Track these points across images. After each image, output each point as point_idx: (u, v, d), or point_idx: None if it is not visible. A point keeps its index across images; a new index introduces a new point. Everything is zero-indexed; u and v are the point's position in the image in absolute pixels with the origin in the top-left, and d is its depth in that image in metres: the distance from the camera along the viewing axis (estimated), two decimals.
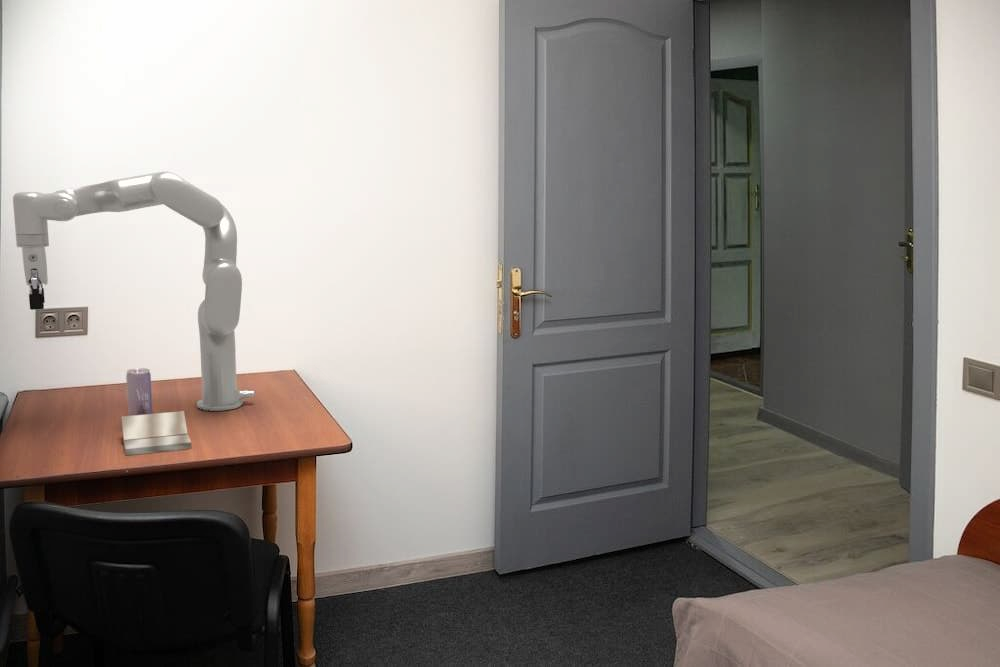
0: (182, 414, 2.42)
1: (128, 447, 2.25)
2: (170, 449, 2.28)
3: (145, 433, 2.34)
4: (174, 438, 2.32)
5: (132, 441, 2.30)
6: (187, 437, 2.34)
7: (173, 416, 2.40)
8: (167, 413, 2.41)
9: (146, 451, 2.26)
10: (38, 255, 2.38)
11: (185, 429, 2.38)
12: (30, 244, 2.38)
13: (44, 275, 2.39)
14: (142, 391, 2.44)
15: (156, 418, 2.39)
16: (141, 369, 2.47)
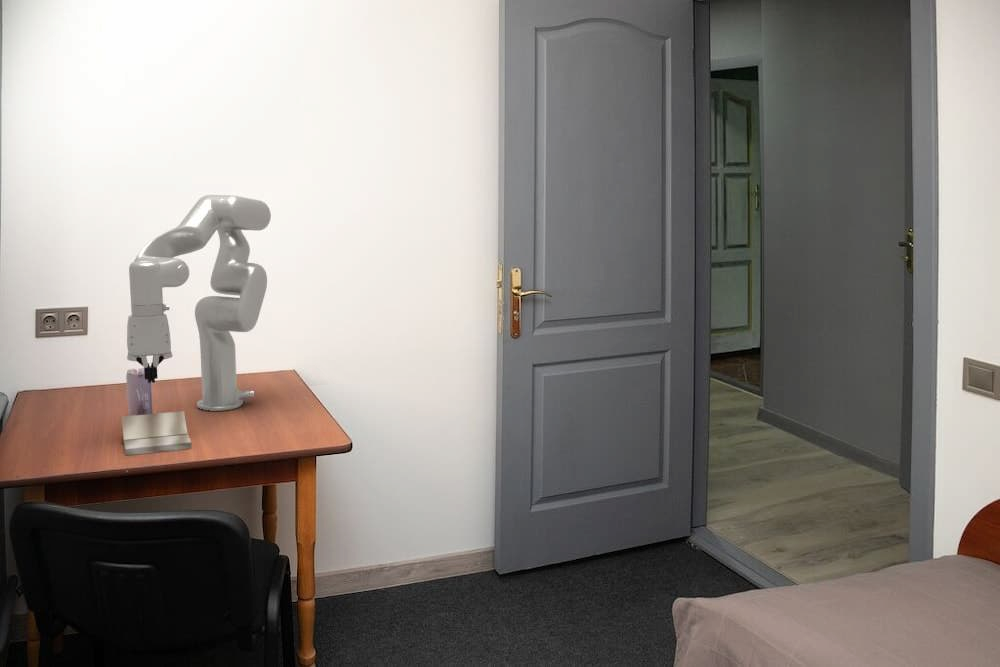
0: (182, 414, 2.42)
1: (128, 447, 2.25)
2: (170, 449, 2.28)
3: (145, 433, 2.34)
4: (174, 438, 2.32)
5: (132, 441, 2.30)
6: (187, 437, 2.34)
7: (173, 416, 2.40)
8: (167, 413, 2.41)
9: (146, 451, 2.26)
10: None
11: (185, 429, 2.38)
12: None
13: None
14: (142, 391, 2.44)
15: (156, 418, 2.39)
16: (141, 369, 2.47)
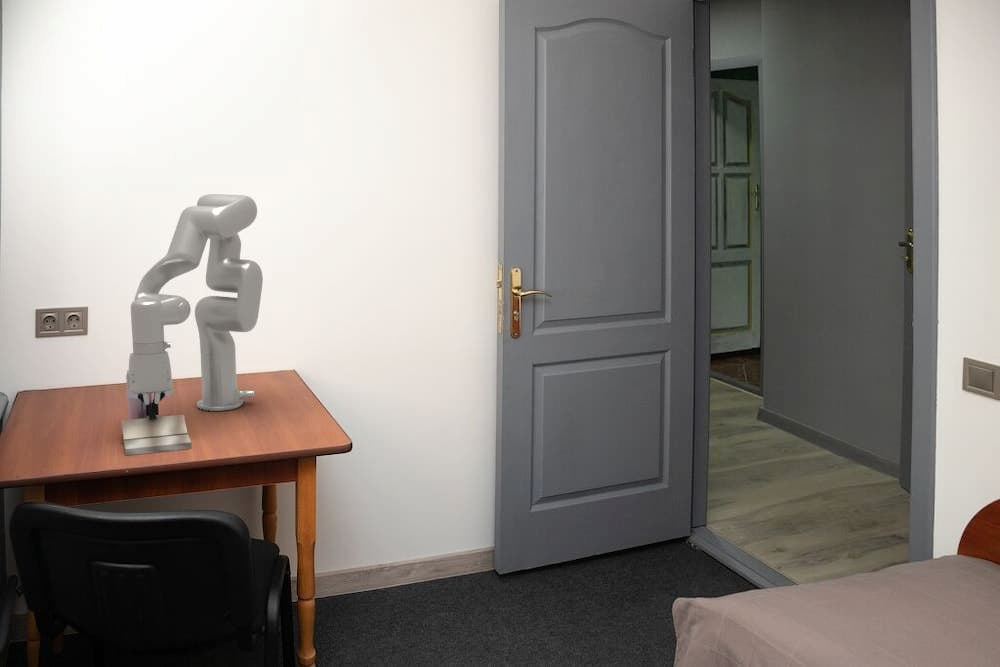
0: (182, 417, 2.43)
1: (128, 447, 2.25)
2: (170, 449, 2.28)
3: (145, 433, 2.35)
4: (174, 438, 2.32)
5: (132, 441, 2.30)
6: (187, 437, 2.34)
7: (173, 419, 2.41)
8: (167, 416, 2.42)
9: (146, 451, 2.26)
10: None
11: (185, 429, 2.38)
12: None
13: None
14: None
15: (156, 421, 2.40)
16: None
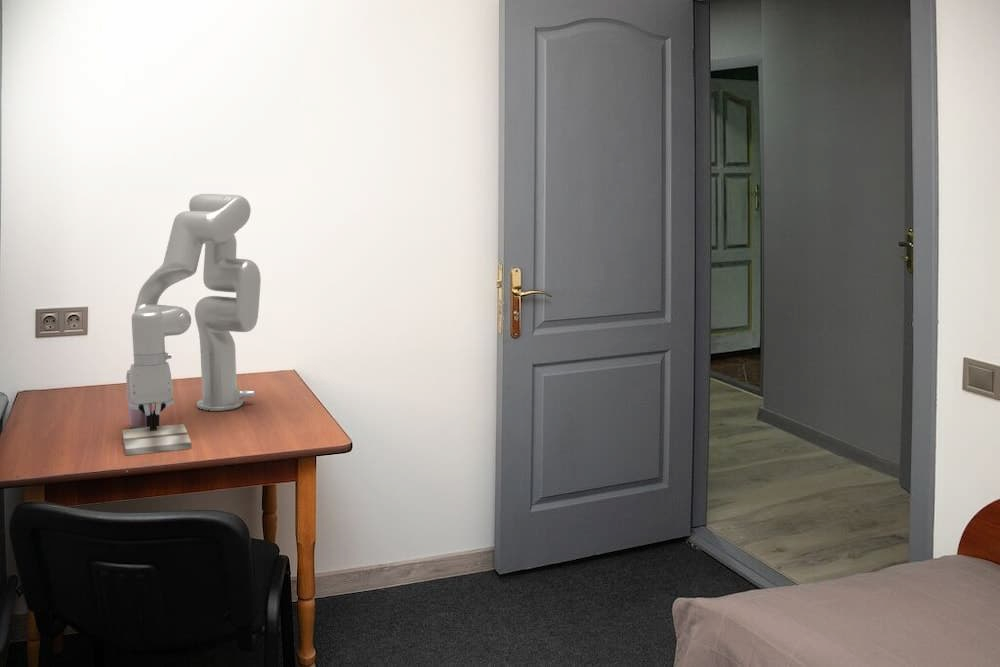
0: (182, 425, 2.44)
1: (128, 447, 2.25)
2: (170, 449, 2.28)
3: (145, 434, 2.35)
4: (174, 438, 2.32)
5: (132, 441, 2.30)
6: (187, 437, 2.34)
7: (173, 426, 2.43)
8: (168, 425, 2.43)
9: (146, 451, 2.26)
10: None
11: (185, 430, 2.39)
12: None
13: None
14: None
15: None
16: None
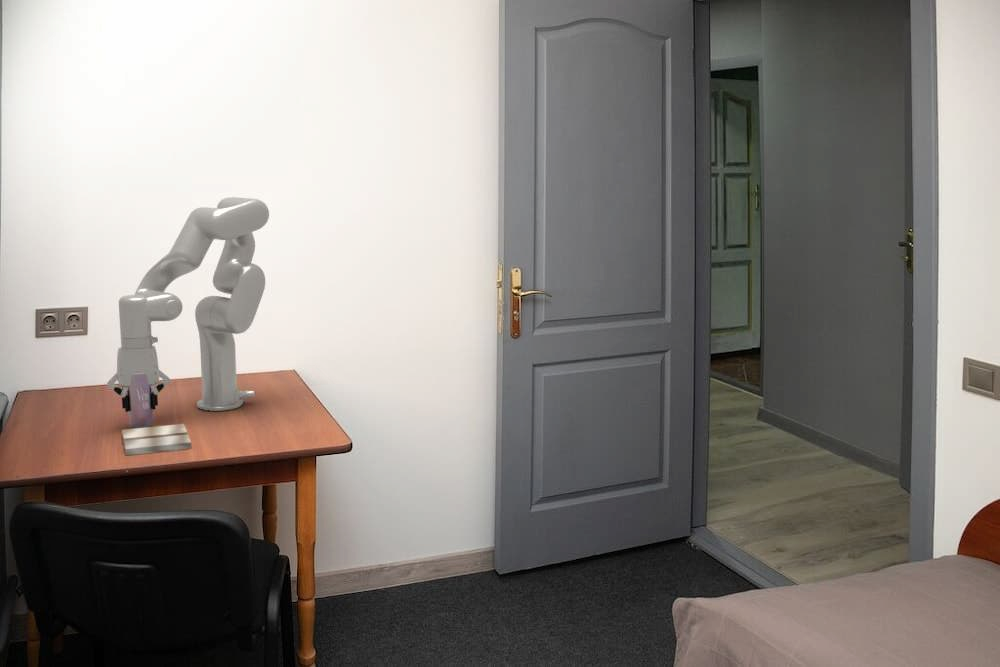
0: (182, 425, 2.44)
1: (128, 447, 2.25)
2: (170, 449, 2.28)
3: (145, 434, 2.35)
4: (174, 438, 2.32)
5: (132, 441, 2.30)
6: (187, 437, 2.34)
7: (173, 426, 2.43)
8: (167, 425, 2.43)
9: (146, 451, 2.26)
10: (156, 353, 2.47)
11: (185, 430, 2.39)
12: None
13: None
14: (142, 391, 2.44)
15: (156, 428, 2.41)
16: None
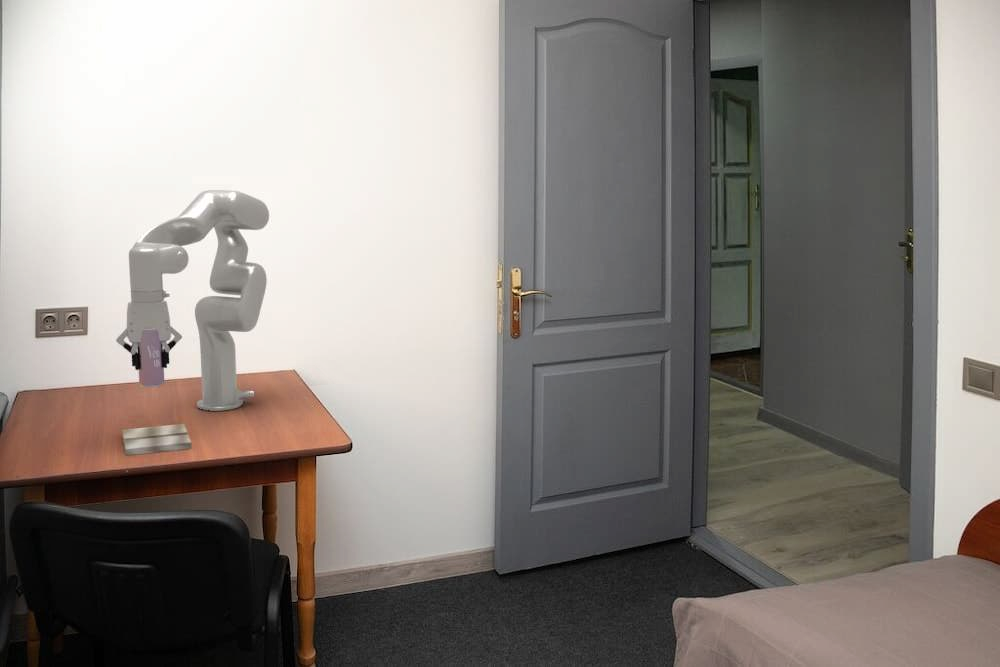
0: (182, 425, 2.44)
1: (128, 447, 2.25)
2: (170, 449, 2.28)
3: (145, 434, 2.35)
4: (174, 438, 2.32)
5: (132, 441, 2.30)
6: (187, 437, 2.34)
7: (173, 426, 2.43)
8: (167, 425, 2.43)
9: (146, 451, 2.26)
10: None
11: (185, 430, 2.39)
12: None
13: None
14: (153, 348, 2.32)
15: (156, 428, 2.41)
16: None
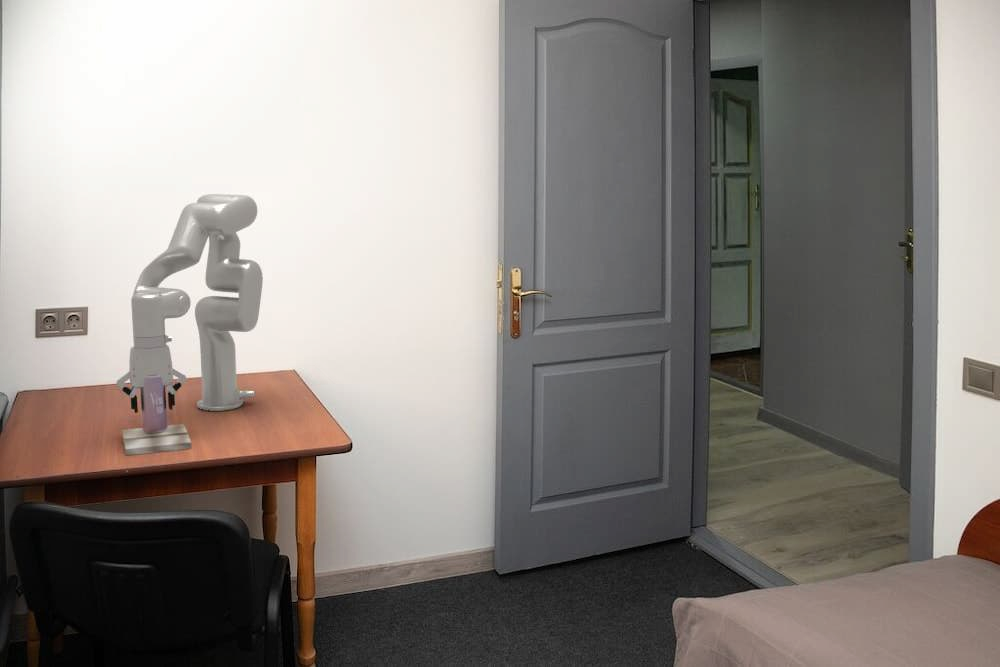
0: (182, 425, 2.44)
1: (128, 447, 2.25)
2: (170, 449, 2.28)
3: (145, 434, 2.35)
4: (174, 438, 2.32)
5: (132, 441, 2.30)
6: (187, 437, 2.34)
7: (173, 426, 2.43)
8: (167, 425, 2.43)
9: (146, 451, 2.26)
10: None
11: (185, 430, 2.39)
12: None
13: None
14: (156, 395, 2.34)
15: None
16: None
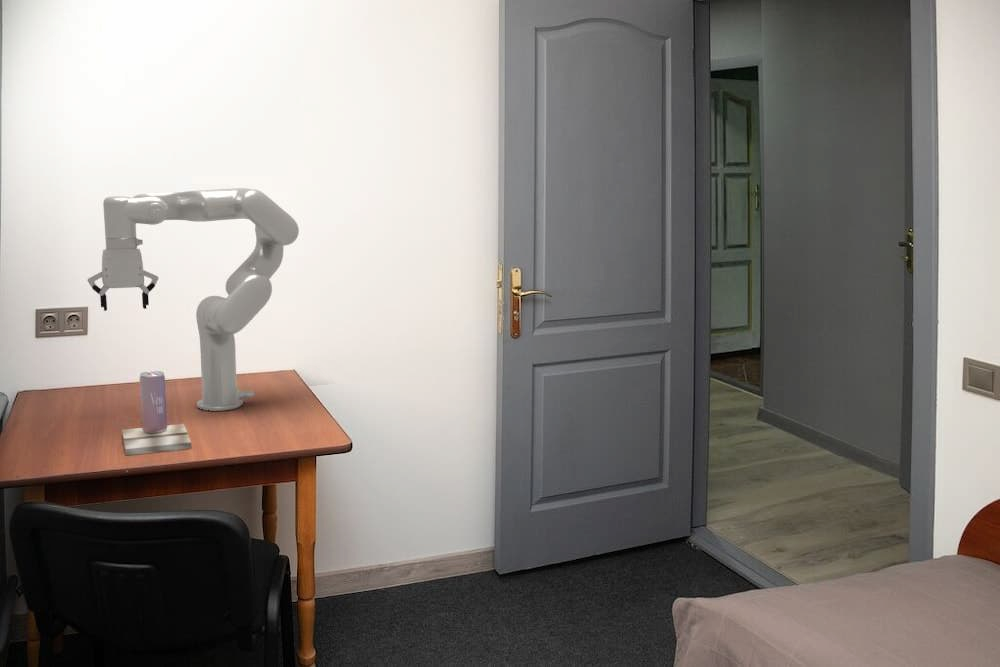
0: (182, 425, 2.44)
1: (128, 447, 2.25)
2: (170, 449, 2.28)
3: (145, 434, 2.35)
4: (174, 438, 2.32)
5: (132, 441, 2.30)
6: (187, 437, 2.34)
7: (173, 426, 2.43)
8: (167, 425, 2.43)
9: (146, 451, 2.26)
10: (141, 256, 2.48)
11: (185, 430, 2.39)
12: (136, 246, 2.46)
13: None
14: (156, 395, 2.34)
15: None
16: (155, 372, 2.38)
